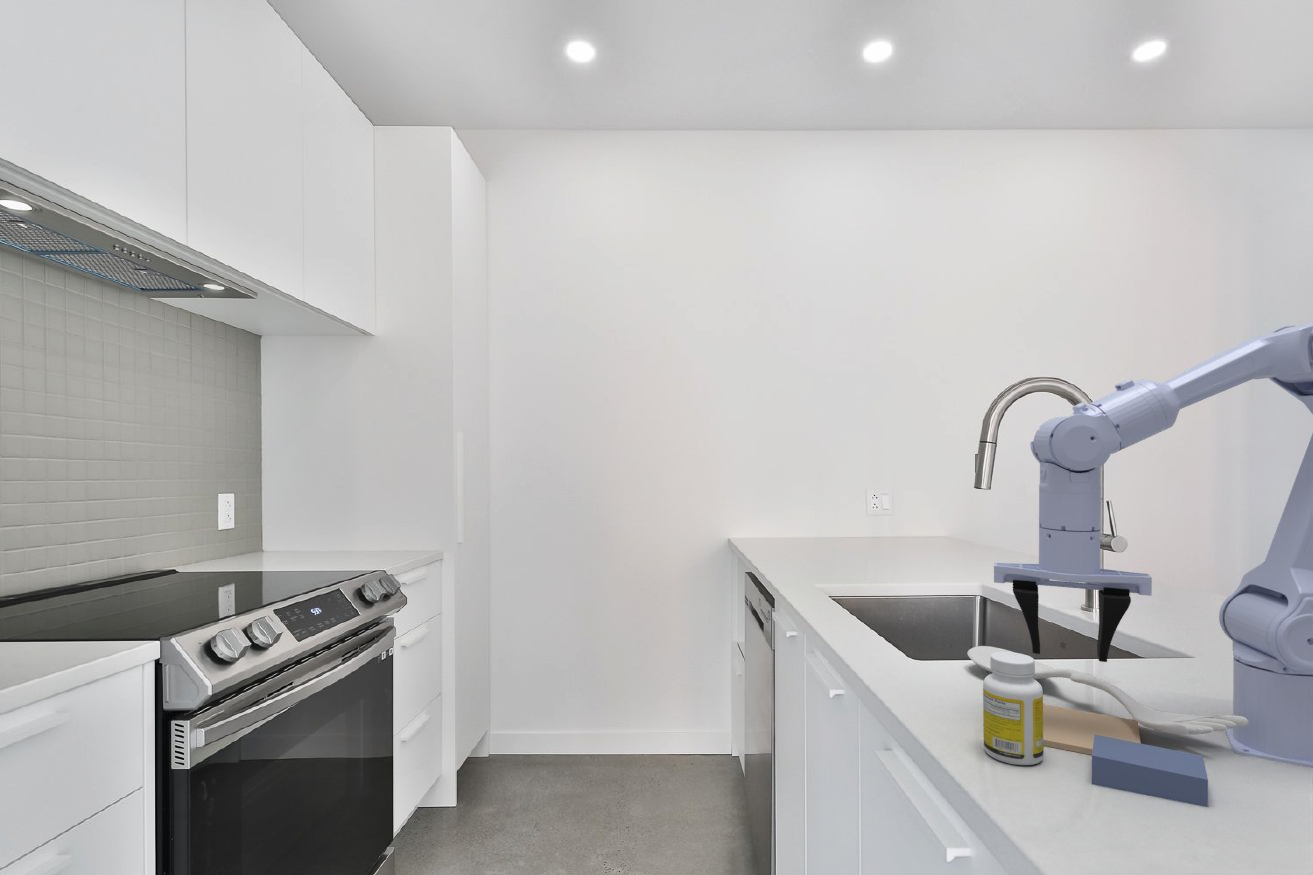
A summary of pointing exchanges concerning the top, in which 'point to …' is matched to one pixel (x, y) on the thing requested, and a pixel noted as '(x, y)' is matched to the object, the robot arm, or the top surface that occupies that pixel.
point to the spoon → (1125, 700)
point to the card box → (1149, 770)
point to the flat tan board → (1083, 728)
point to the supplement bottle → (1013, 710)
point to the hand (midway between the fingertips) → (1068, 655)
